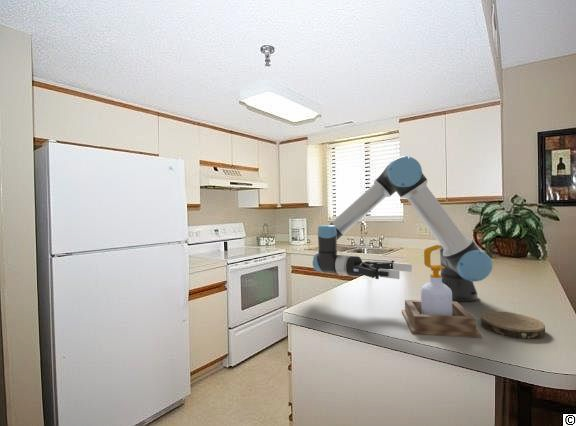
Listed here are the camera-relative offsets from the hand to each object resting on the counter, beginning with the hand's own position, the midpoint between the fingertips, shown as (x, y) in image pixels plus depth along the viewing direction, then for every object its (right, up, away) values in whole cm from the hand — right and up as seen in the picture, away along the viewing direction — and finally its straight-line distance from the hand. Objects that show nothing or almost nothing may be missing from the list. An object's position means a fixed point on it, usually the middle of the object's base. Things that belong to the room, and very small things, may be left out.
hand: (405, 271), depth 104 cm
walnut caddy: (+8, -16, -6) cm, 19 cm away
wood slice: (+28, -16, -11) cm, 35 cm away
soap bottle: (+8, -15, -6) cm, 18 cm away
